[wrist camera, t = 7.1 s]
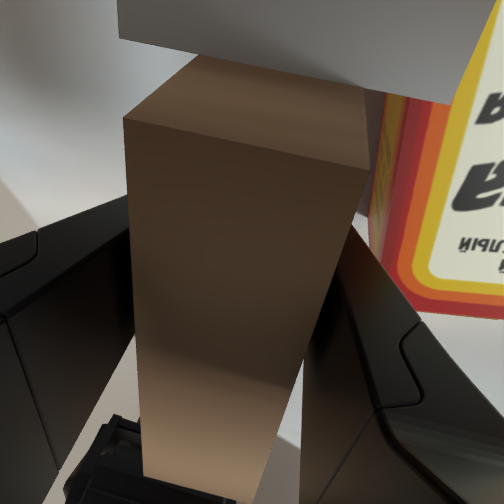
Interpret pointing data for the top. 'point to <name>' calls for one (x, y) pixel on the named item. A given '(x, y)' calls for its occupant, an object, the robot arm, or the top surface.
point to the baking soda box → (446, 190)
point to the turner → (255, 202)
